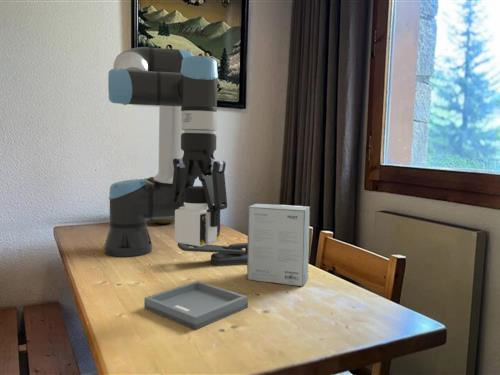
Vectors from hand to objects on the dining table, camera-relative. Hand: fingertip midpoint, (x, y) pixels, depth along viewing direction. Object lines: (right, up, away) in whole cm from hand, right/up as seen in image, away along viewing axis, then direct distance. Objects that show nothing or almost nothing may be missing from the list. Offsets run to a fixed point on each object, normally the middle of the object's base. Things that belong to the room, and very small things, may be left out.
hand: (197, 238), depth 96 cm
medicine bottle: (0, -1, 0) cm, 1 cm away
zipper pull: (+2, -12, +38) cm, 40 cm away
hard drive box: (+19, -14, +23) cm, 33 cm away
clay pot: (-26, -5, +97) cm, 101 cm away
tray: (0, -16, +2) cm, 16 cm away
